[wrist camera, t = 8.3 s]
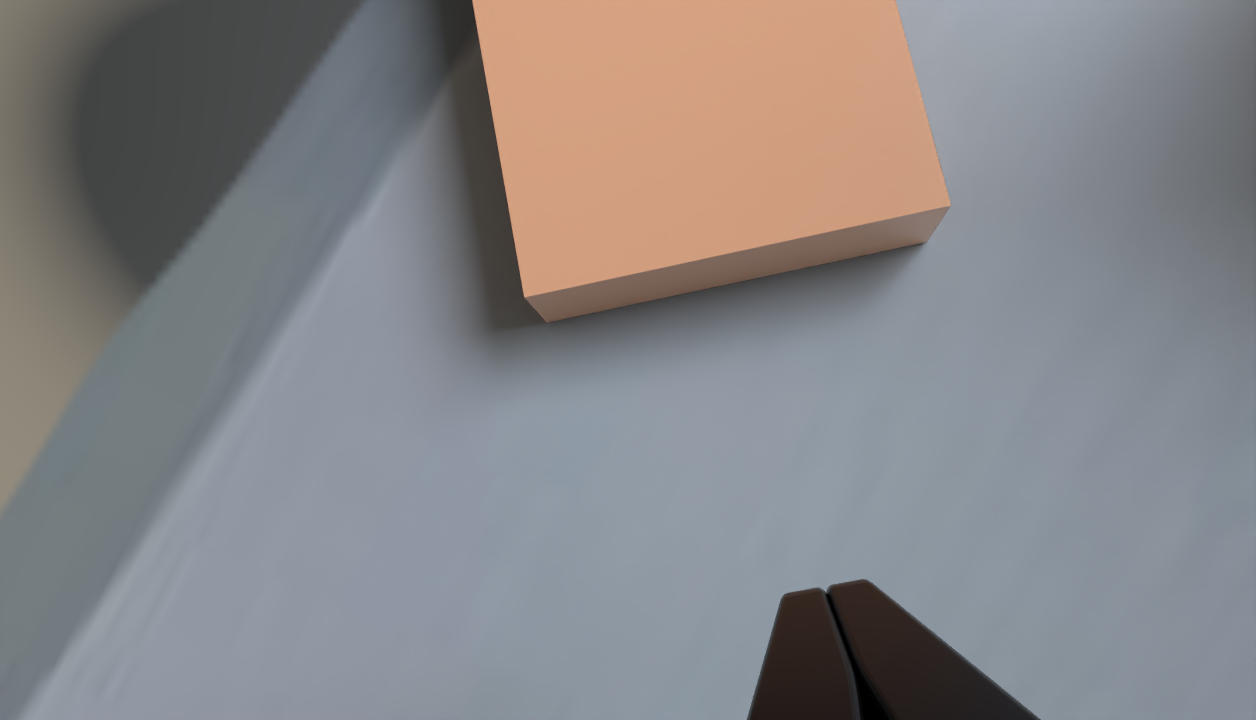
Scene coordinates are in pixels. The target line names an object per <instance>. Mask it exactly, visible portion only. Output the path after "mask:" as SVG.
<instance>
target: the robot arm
mask: <svg viewBox="0 0 1256 720" xmlns="http://www.w3.org/2000/svg"><path fill="white" fill-rule="evenodd" d="M747 720H1041V719H1039V718H1038V717H1037V716H1036V715H1034V714H1033V713H1032V712H1031V711H1029V710H1028V709H1027V708H1026V707H1024V706H1023V705H1022V704H1021V703H1020V702H1018V701H1017V700H1016V699H1015V698H1013V697H1012V696H1011V695H1010V694H1008V693H1007V692H1006V691H1005V690H1004V689H1002V688H1001V687H1000V686H999V685H997V684H996V683H995V682H994V681H992V680H991V679H990V678H989V677H988V676H986V675H985V674H984V673H983V672H981V671H980V670H979V669H978V668H976V667H975V666H974V665H973V664H972V663H970V662H969V661H968V660H967V659H965V658H964V657H963V656H962V655H960V654H959V653H958V652H957V651H955V650H954V649H953V648H952V647H951V646H949V645H948V644H947V643H946V642H944V641H943V640H942V639H941V638H939V637H938V636H937V635H936V634H935V633H933V632H932V631H931V630H930V629H928V628H927V627H926V626H925V625H923V624H922V623H921V622H920V621H919V620H917V619H916V618H915V617H914V616H912V615H911V614H910V613H909V612H907V611H906V610H905V609H904V608H902V607H901V606H900V605H899V604H898V603H896V602H895V601H894V600H893V599H891V598H890V597H889V596H888V595H886V594H885V593H884V592H883V591H882V590H880V589H879V588H878V587H877V586H875V585H874V584H873V583H872V582H870V581H868V580H865V579H861V580H856V581H850V582H844V583H839V584H833V585H830V586H829V587H828V589H827V591H826V592H825V591H824V590H823V589H821V588H812V589H807V590H801V591H796V592H791V593H787V594H785V595H784V596H783V597H782V599H781V601H780V604H779V608H778V611H777V615H776V618H775V622H774V625H773V629H772V632H771V636H770V640H769V643H768V647H767V650H766V654H765V657H764V661H763V664H762V668H761V671H760V675H759V678H758V682H757V686H756V689H755V693H754V696H753V700H752V703H751V707H750V710H749V714H748V717H747Z"/></svg>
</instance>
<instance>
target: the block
mask: <svg viewBox="0 0 1256 720" xmlns="http://www.w3.org/2000/svg"><path fill="white" fill-rule="evenodd" d="M472 1H473V7H474V13H475V19H476V24H477V30H478V36H479V42H480V47H481V53H482V59H483V64H484V70H485V76H486V82H487V87H488V93H489V99H490V104H491V110H492V116H493V122H494V127H495V133H496V139H497V145H498V150H499V156H500V162H501V167H502V173H503V179H504V185H505V190H506V196H507V202H508V207H509V213H510V219H511V225H512V230H513V236H514V242H515V248H516V253H517V259H518V265H519V270H520V276H521V282H522V288H523V293H524V298H525V299H526V300H527V301H528V302H529V303H530V305H531V306H532V307H533V308H534V309H535V310H536V311H537V312H538V313H539V315H540V316H541V317H542V318H543V319H544V320H545V321H546V322H547V323H548V322H552V321H557V320H562V319H566V318H571V317H576V316H580V315H585V314H590V313H595V312H599V311H604V310H609V309H613V308H618V307H623V306H628V305H632V304H637V303H642V302H646V301H651V300H656V299H661V298H665V297H670V296H675V295H679V294H684V293H689V292H694V291H698V290H703V289H708V288H712V287H717V286H722V285H727V284H731V283H736V282H741V281H745V280H750V279H755V278H760V277H764V276H769V275H774V274H778V273H783V272H788V271H792V270H797V269H802V268H807V267H811V266H816V265H821V264H825V263H830V262H835V261H840V260H844V259H849V258H854V257H858V256H863V255H868V254H873V253H877V252H882V251H887V250H891V249H896V248H901V247H906V246H910V245H915V244H920V243H924V242H927V241H928V239H929V238H930V236H931V235H932V233H933V232H934V230H935V229H936V227H937V226H938V224H939V223H940V221H941V220H942V218H943V217H944V215H945V214H946V212H947V211H948V209H949V208H950V206H951V203H950V199H949V196H948V192H947V188H946V185H945V181H944V177H943V174H942V170H941V166H940V163H939V159H938V155H937V152H936V148H935V144H934V141H933V137H932V133H931V129H930V126H929V122H928V118H927V115H926V111H925V107H924V104H923V100H922V96H921V93H920V89H919V85H918V82H917V78H916V74H915V71H914V67H913V63H912V59H911V56H910V52H909V48H908V45H907V41H906V37H905V34H904V30H903V26H902V23H901V19H900V15H899V12H898V8H897V4H896V1H895V0H472Z"/></svg>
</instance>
